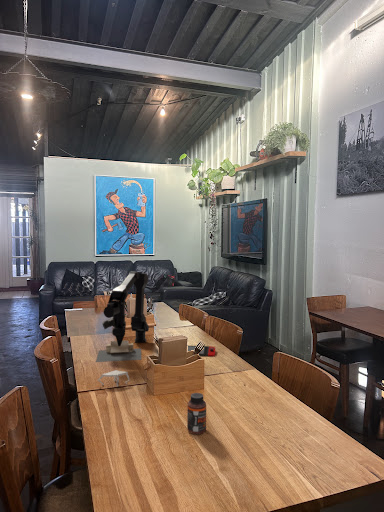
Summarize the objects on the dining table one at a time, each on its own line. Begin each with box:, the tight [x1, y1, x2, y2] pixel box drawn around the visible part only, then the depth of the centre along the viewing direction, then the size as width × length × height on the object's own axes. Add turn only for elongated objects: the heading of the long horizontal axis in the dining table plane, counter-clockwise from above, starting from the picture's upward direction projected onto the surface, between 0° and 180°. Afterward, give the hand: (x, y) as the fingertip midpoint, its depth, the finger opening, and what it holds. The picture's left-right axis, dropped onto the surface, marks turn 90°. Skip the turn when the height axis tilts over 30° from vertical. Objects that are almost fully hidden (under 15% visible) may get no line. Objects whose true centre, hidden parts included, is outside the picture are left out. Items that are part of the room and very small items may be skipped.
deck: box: [110, 340, 129, 354], centre depth 191 cm, size 6×9×2 cm
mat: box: [95, 348, 142, 363], centre depth 188 cm, size 18×22×1 cm
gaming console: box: [187, 345, 216, 357], centre depth 193 cm, size 29×4×10 cm
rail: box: [105, 342, 134, 353], centre depth 194 cm, size 3×14×4 cm, turn 99°
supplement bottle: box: [186, 392, 207, 435], centre depth 116 cm, size 6×6×11 cm
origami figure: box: [97, 370, 130, 387], centre depth 152 cm, size 12×8×5 cm
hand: (119, 343), depth 191 cm, fingers open, 9 cm apart
